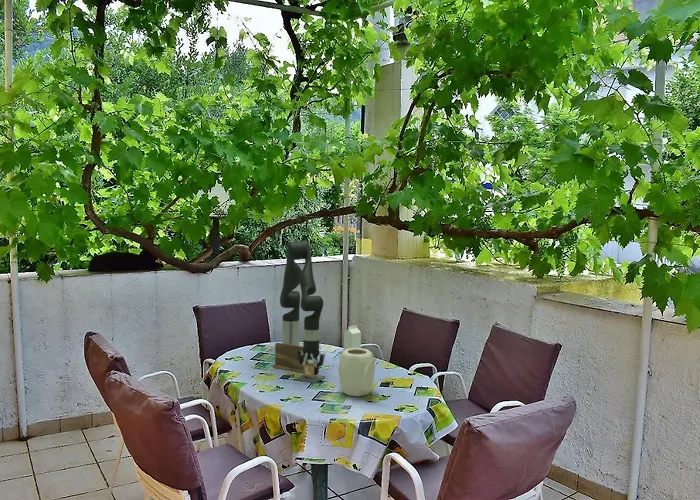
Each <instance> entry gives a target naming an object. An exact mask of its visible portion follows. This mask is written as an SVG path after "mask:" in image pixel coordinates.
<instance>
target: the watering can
mask: <svg viewBox="0 0 700 500" xmlns="http://www.w3.org/2000/svg"><path fill="white" fill-rule="evenodd" d="M376 362H377V359H376V358H375V357H374V354H373V352H372V351H370V350H369V349H366V348H362V347H361V348H349V349H346V350H344V349H343V350H342V353H341V355H340V358H339V361H338V368H337V369H338V376H339V384H340V388H341V392H342V393H344V394H345V395H348V396H351V397H352V396H353V397H362V396H368V395H369V393H370V392H371V390H372V388H373V383H374V378H375V372H376V371H375V370H376Z"/></svg>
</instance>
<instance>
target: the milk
mask: <svg viewBox="0 0 700 500" xmlns="http://www.w3.org/2000/svg"><path fill="white" fill-rule="evenodd" d="M347 328H348V329H346V330H345V331H344V332H343V351H344V350H346V349H349V348H362V347H361V345H362V343H361V342H362V340H361V339H362V332H361V330H360V329H359V328H358V325H357V324H354V325H349V326H348V327H347Z"/></svg>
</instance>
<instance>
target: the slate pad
mask: <svg viewBox="0 0 700 500" xmlns="http://www.w3.org/2000/svg"><path fill="white" fill-rule="evenodd" d="M325 378H326V375H322V374H317V375H316V376H314V377H310V376H304V374H301V375H300V376H298V377H297V378H295V380H296V381H299V382H303V383H311V384H317V383H319V382H320V381H322V380H323V379H325Z"/></svg>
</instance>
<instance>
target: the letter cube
mask: <svg viewBox="0 0 700 500" xmlns="http://www.w3.org/2000/svg"><path fill="white" fill-rule="evenodd" d="M314 370H315V366H314V363H313V362H309V361H308V363H307V364H305V365H304V373H303V375H304V376H310V377H314V376H316V375H314Z"/></svg>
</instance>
